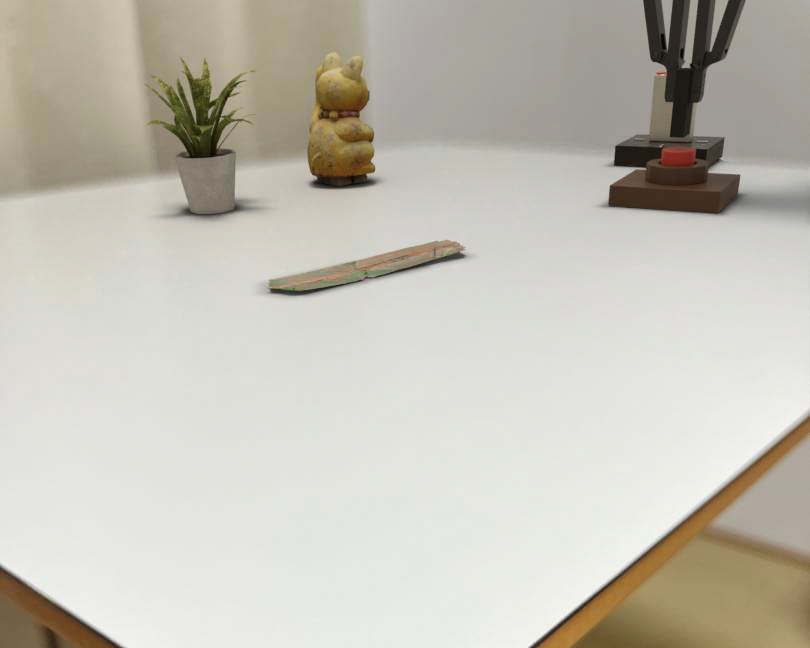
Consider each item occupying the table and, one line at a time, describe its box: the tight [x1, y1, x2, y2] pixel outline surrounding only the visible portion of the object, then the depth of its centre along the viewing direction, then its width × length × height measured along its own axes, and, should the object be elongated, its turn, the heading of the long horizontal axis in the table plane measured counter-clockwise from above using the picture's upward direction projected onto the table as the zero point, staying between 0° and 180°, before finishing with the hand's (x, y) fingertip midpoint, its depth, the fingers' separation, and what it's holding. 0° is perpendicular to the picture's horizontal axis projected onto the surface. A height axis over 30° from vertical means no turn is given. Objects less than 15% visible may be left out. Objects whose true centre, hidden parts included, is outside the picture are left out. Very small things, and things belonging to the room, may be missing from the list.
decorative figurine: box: [306, 51, 376, 187], centre depth 118 cm, size 10×8×15 cm
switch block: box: [607, 159, 741, 214], centre depth 105 cm, size 12×10×4 cm
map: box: [267, 239, 467, 292], centre depth 85 cm, size 5×20×1 cm, turn 126°
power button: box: [661, 147, 696, 166], centre depth 103 cm, size 4×4×2 cm
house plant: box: [144, 56, 256, 215], centre depth 106 cm, size 14×14×16 cm
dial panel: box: [613, 133, 726, 168], centre depth 126 cm, size 12×10×3 cm
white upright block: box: [648, 71, 698, 142], centre depth 123 cm, size 6×2×8 cm, turn 62°
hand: (679, 135), depth 102 cm, fingers closed
